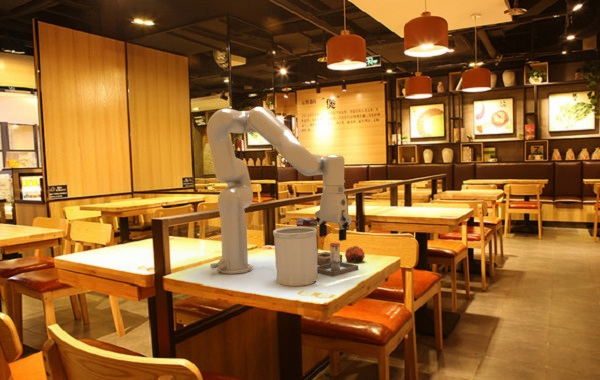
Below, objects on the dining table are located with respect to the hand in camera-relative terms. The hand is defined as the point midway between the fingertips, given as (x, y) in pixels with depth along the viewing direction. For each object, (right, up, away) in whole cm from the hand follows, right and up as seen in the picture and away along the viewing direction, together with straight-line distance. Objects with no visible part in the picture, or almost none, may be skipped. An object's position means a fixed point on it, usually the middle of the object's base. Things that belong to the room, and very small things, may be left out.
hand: (332, 238), depth 158 cm
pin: (+1, -12, +1) cm, 12 cm away
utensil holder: (-13, -14, -7) cm, 20 cm away
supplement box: (-8, -11, +31) cm, 34 cm away
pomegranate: (+10, -12, +14) cm, 20 cm away
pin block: (-2, -12, +13) cm, 18 cm away
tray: (+1, -13, +1) cm, 13 cm away
